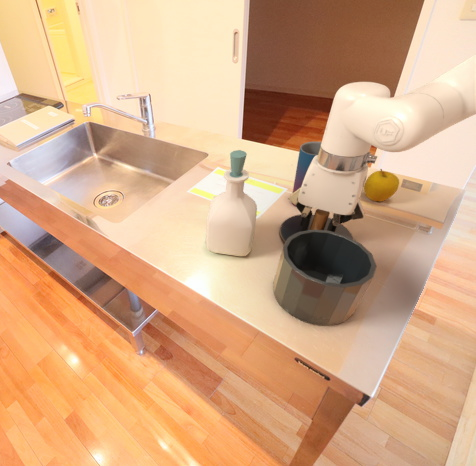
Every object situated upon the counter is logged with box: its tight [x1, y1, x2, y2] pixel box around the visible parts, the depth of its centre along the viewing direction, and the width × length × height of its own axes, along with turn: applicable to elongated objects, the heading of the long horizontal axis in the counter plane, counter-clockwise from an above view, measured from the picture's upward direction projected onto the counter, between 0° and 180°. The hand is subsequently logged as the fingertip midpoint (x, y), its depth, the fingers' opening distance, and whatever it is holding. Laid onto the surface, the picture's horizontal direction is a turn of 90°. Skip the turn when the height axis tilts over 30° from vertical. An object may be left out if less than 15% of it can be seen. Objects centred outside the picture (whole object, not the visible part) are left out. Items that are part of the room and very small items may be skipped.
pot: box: [272, 230, 377, 327], centre depth 57 cm, size 13×13×10 cm
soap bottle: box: [205, 149, 258, 257], centre depth 66 cm, size 10×10×23 cm
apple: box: [363, 168, 400, 202], centre depth 76 cm, size 6×6×8 cm
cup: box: [290, 141, 322, 208], centre depth 76 cm, size 7×7×15 cm
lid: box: [279, 209, 354, 243], centre depth 69 cm, size 14×14×7 cm
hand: (316, 231), depth 70 cm, fingers open, 3 cm apart
